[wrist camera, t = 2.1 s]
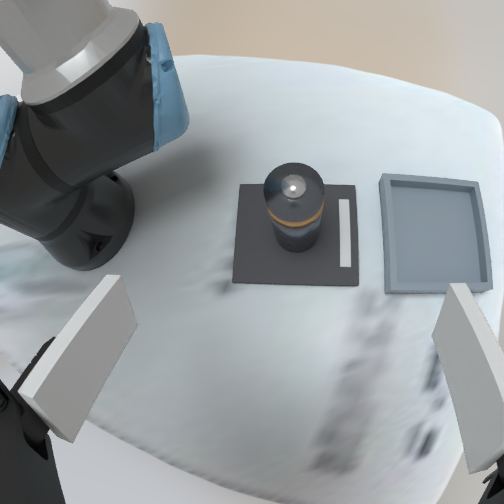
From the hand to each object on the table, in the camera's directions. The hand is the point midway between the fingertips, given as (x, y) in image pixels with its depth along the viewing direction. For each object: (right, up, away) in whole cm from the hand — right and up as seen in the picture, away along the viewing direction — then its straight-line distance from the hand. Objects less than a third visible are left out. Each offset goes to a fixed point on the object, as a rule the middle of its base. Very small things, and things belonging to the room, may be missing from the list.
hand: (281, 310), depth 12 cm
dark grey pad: (+4, +4, +25) cm, 26 cm away
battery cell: (+4, +5, +24) cm, 25 cm away
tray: (+21, +4, +22) cm, 31 cm away
